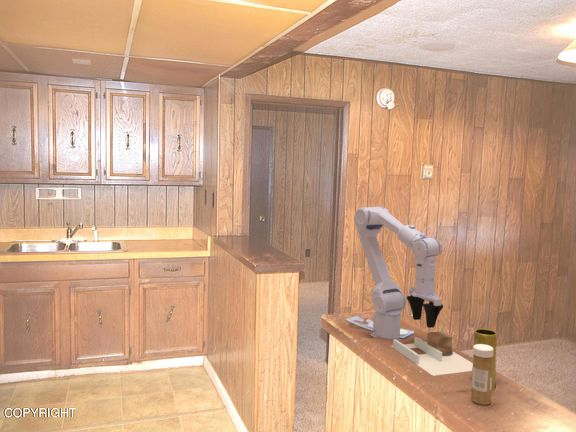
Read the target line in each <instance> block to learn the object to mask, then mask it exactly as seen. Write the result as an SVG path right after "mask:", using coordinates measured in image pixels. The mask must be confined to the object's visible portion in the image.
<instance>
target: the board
mask: <svg viewBox="0 0 576 432" xmlns="http://www.w3.org/2000/svg"><path fill="white" fill-rule="evenodd" d="M425 342H426V343H427V341H425ZM404 345H405V346H407V347H408V348H410V349H419V348H418V347H416V346H415V345H414V342H412V343H405V344H404ZM391 348H393V345H391ZM393 349H394V350H396V349H395V348H393ZM400 354H401V355H403V354H402V353H400ZM418 355H419V364H416V363H414V364H416V366H417V367H419V368H420V369H422V370H424V371H426V373H428V374H429V375H431V376H435V377H436V376H443V375H444V376H445V375H451V374H457V373H467V372H472V366H473V362H471V361H470V360H468V359H467V358H464V357H463V356H461V355H460V354H459V353H456V352H455V351H453V354H452V355H451V356H442V361H440V362H439V361H438V360H436V359H435V358H433V357H432V356H430V355H429V354H427V353H422V354H418ZM407 359H408V360H410V359H409V358H407Z"/></svg>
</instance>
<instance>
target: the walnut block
mask: <svg viewBox="0 0 576 432" xmlns="http://www.w3.org/2000/svg"><path fill="white" fill-rule="evenodd" d="M426 337H427V339H426V340H427V341H426V342H427V344H429V345H431V346H432V347H434V348H435V349H437V350H439V351H440V352H442V354H449V353H452V351H453V349H452V348H453V347H452V346H453V336H452V335H450V334H448V333H446V332H445V331H443V330H441V331H428V332H427V336H426Z"/></svg>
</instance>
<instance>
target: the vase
mask: <svg viewBox="0 0 576 432" xmlns="http://www.w3.org/2000/svg"><path fill="white" fill-rule="evenodd" d="M473 333H474V334H473V335H474V336H473V346H474V345H476V344H485V345H489V346H491V347H493V349H494V354H493V358H492V389H491V391H494V390H496V389H497V385H496V381H497V379H496V378H497V377H496V376H497V375H496V374H497V373H496V371H497V369H496V368H497V365H496V364H497V335H498V333H497V331H495V330H493V329H489V328H477V329H474V332H473ZM472 356H473V355H472ZM473 358H474V356H473ZM473 358H472V359H473ZM472 374H473V366H472V371H471V375H472ZM471 380H472V376H471Z"/></svg>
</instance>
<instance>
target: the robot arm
mask: <svg viewBox="0 0 576 432" xmlns="http://www.w3.org/2000/svg"><path fill="white" fill-rule="evenodd" d="M353 221H354V224H355V227H356V230H357V232H358V237H359V241H360V244H361V247H362V250H363V253H364V256H365V258H366V261H367V265H368V267H369V270H370V273H371V275H372V279H373V281H374V285H375V286H374V287H373V289H372V291H371V297H372V307H373V309H374V311H375V312H374V314H373V319H372V332H371V333H370V336H371V337H372V338H375V339H376V338H381V339H387V340H393V339H396V340H398V339H399V338H400V337H401V317H402V316H401V314H402V313H403V310H404V309H406V308H405V307H406V306H407V303H409V306H410V309H411V314H412V319H413V320H414V321H418V320H421V318H422V314H423V309H424V314H425V322H426V328H428V329H429V328H435V327H436V326H435V325H436V322H437V321H438V317H439V314H440V313H441V311H442V310H443V308H444V304H442V298H441V297H440V296H438V294H437V293H436V291H435V290H436V271H437V270H436V269H437V264H436V263H437V256H438V255H440V253H441V249H442V247H441V244H440V241H439V240H438V239H437V238H436V237H434V236H429V237H428V236H427V234H426V233H424V232H421V231H419V230H418V229H416V226H415V225H414V224H406V225H405V224H403V223H402V222H401V221H399V219H397V218H396V217H394V215H392V214H391V213H390V211H389V209H388V208H385V207H384V206H382V205H380V206H379V205H378V206H370V207H369V206H367V207H366V206H365V207H364V206H361V207H358V208H357V210H356V211H355V214H354V217H353ZM384 227H385V228H387V230H390V231H392V232H393V233H394V234H396V235H397V239H398V240H399V242H401V243H403V244H404V245H405V246H406V247H408V248H409V249H410V250H411V252H412V255H413V257H414V259H413V260H414V263H415V272H414V273H415V274H414V275H415V277H414V280H415V281H414V287H413V286H412V287H408V294H409V295H407V296H406V295H405V294H404V292H403V291H402V289H401V287H400V285H398V284H397V283H396V282H395V281H393V280H392V278H391V274H390V272H389V269H388V266H387V263H386V260H385V257H384V255H383V253H382V249H381V246H380V243H379V241H378V238H377V236H378V234H379V233H380V232H381V231H382V229H383V228H384ZM425 301H427V302H428V303H425Z"/></svg>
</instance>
